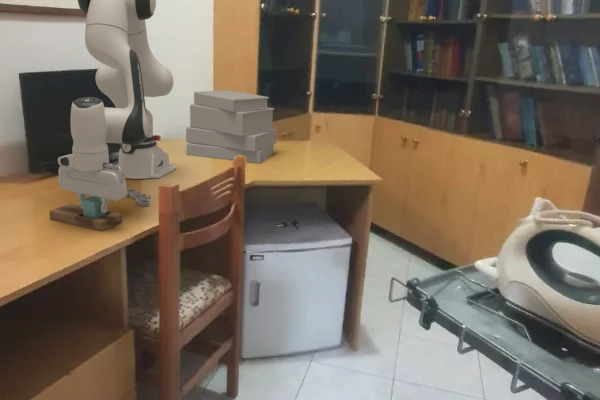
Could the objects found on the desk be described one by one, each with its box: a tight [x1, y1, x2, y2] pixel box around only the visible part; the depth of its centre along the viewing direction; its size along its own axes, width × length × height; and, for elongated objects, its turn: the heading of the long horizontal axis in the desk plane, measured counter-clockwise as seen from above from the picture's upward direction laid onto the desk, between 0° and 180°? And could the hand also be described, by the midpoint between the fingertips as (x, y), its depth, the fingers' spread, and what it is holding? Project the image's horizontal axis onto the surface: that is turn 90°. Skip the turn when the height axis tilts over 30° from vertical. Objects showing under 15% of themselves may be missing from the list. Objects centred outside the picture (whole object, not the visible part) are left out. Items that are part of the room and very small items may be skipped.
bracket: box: [126, 188, 152, 208], centre depth 169 cm, size 8×2×15 cm
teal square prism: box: [82, 196, 105, 219], centre depth 147 cm, size 4×4×7 cm
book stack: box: [185, 89, 278, 164], centre depth 231 cm, size 30×35×26 cm
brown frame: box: [48, 202, 124, 232], centre depth 148 cm, size 8×18×2 cm, turn 67°
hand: (94, 210), depth 147 cm, fingers open, 5 cm apart
